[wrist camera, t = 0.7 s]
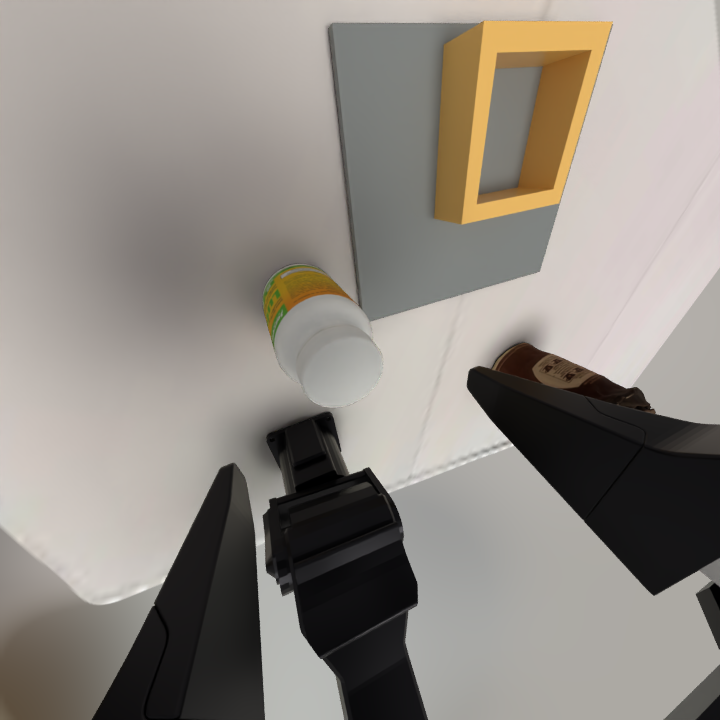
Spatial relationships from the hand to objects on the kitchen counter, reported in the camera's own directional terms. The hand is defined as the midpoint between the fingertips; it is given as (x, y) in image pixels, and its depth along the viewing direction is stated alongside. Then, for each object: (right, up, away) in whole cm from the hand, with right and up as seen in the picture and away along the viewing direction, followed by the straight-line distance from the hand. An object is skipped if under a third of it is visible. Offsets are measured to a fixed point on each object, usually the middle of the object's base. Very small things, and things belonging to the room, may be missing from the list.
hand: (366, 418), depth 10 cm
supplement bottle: (-5, +7, +10) cm, 13 cm away
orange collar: (+9, +17, +9) cm, 21 cm away
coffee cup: (+19, +2, +25) cm, 31 cm away
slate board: (+8, +15, +11) cm, 20 cm away
